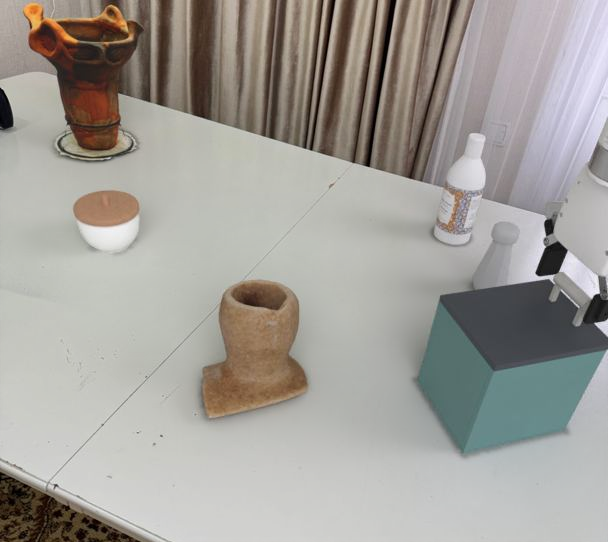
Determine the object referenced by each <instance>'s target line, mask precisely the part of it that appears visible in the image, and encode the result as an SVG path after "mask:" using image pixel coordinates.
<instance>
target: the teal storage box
mask: <svg viewBox="0 0 608 542" xmlns="http://www.w3.org/2000/svg"><path fill="white" fill-rule="evenodd" d="M426 344H427V345H426V347H425V350H424V354H423V359H422V362H421V366H420V370H419V373H418V377H417V383H418V385H419V386H420V388H421V390H422V391H423V393H424V394H425V396H426V397H427V399H428V401H429V402H430V404H431V405H432V407H433V408H434V410H435V411H436V413H437V415H438V416H439V418H440V420H441V421H442V423H443V424H444V426H445V427H446V429H447V430H448V432H449V433H450V435H451V437H452V439H453V440H454V442H455V443H456V445H457V447H458V448H459V450H460V451H461V453H462V454H467V453H472V452H476V451H481V450H485V449H489V448H494V447H498V446H502V445H507V444H511V443H515V442H520V441H525V440H529V439H534V438H537V437H541V436H546V435H550V434H555V433H559V432H560V433H561V432H564V431H565V430H566V428H567V426H568V424H570V423H569V422H570V421H571V419H572V417H573V415H574V413H575V411H576V410H577V407H578V406H579V404H580V402H581V401H582V398H583V396H584V394H585V393H586V391H587V388H588V387H589V385H590V383H591V381H592V379H593V378H594V375H595V373H596V371H597V369H599V366H600V364H601V362H602V360H603V359H604V357H605V355H606V353H607V351H608V350H604V351H598V352H593V353H588V354H583V355H578V356H572V357H567V358H562V359H557V360H551V361H546V362H541V363H536V364H531V365H525V366H520V367H515V368H510V369H504V370H499V371H493V369H492V368H491V367H490V365H489V364H488V363H487V361H486V360H485V359H484V358H483V356H482V355H481V354H480V352H479V351H478V350H477V348H476V347H475V346H474V345H473V343H472V342H471V341H470V339H469V338H468V337H467V335H466V334H465V333H464V332H463V330H462V329H461V328H460V326H459V325H458V324H457V322H456V321H455V320H454V318H453V317H452V316H451V315H450V313H449V312H448V311H447V309H446V308H445V307H444V305H443V304H442V303H441V302H440V300H439V299H438V301H437V305H436V309H435V313H434V316H433V321H432V323H431V328H430V332H429V335H428V340H427V343H426Z"/></svg>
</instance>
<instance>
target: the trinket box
mask: <svg viewBox="0 0 608 542" xmlns="http://www.w3.org/2000/svg"><path fill="white" fill-rule="evenodd" d="M72 211H73V215H74V218H75V221H76V225H77V228H78V231H79V233H80V235H81V237H82V238H83V239H84V241H85V242H86V243H87V244H88V245H89V246H91V247H92V248H94V249H95V250H98V251H99V252H102V253H108V254H111V253H118V252H119V253H120V252H122V251H124V250H126V249H127V248H128V247H129V246H131V244H133V243H134V241H135V240H136V238H137V237H138V234H139V230H140V223H141V221H140V220H141V218H140V217H141V216H140V202H139V200H138V199H137V198H136V197H135V196H133V195H132V194H131V193H128V192H125V191H121V190H111V189H110V190H108V189H107V190H106V189H105V190H98V191H93V192H90V193H87V194H84V195H82V196H81V197H79V198H78V199H77V200H76V201H75V202H74V204H73V206H72Z"/></svg>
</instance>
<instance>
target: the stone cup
mask: <svg viewBox="0 0 608 542" xmlns="http://www.w3.org/2000/svg"><path fill="white" fill-rule="evenodd" d="M299 301H300V300H299V299H298V296H297V295H296V294H295V292H294V290H292V289H290V288H289V287H288V286H286V285H284V284H282V283H280V282H276V281H271V280H267V279H249V280H243V281H240V282H237V283H234V284H233V285H232V284H231V285H230V286H229V287H227V288H226V289H225V291H224V292H223V294H222V296H221V300H220V302H219V303H220V304H219V309H218V324H219V328H220V334H221V337H222V340H223V345H224V349H225V352H226V354H225V355H226V359H225V360H224V361H220V362H218V363H215V364H211V365H210V364H209V365H207V366H206V365H205V366H204V367H202V369H201V372H202V376H203V380H202V384H201V391H202V400H203V406H204V412H205V413H206V418H207V419H216V418H221V417H227V416H230V415H236V414H240V413H244V412H248V411H253V410H255V409H260V408H264V407H267V406H271V405H274V404H278V403H282V402H284V401H287V400H290V399H291V400H292V399H294V398H297V397H299V396H301V395H302V394H304V393H306V391H307V390H308V386H309V383H308V378H307V374H306V373H305V370H304V368H303V367H302V366H301V364H300V363H299V362H298V361H297V360H296V359H294V358H293V356H291V355H289V354H290V351H291V350H292V347H293V345H294V343H295V341H296V338H297V335H298V332H299V324H300V302H299Z"/></svg>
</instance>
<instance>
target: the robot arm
mask: <svg viewBox="0 0 608 542" xmlns="http://www.w3.org/2000/svg"><path fill="white" fill-rule="evenodd" d="M600 131H601V132H600V134H599V137H598V139H597V141H596V144H595V146H594V149H593V151H592V154H591V156H590V159H589V161H587V162H586V163H584V165H583V167H582V168H581V170H580V171H579V173H578V175H577V176H576V178H575V179H574V181H573V183H572V185H571V187H570V188H569V191H568V193H567V194H566V197H565V198H564V200H554V201H547V202H546V204H545V220H544V221H543V222H544V223H543V229H544V233H545V237H543V240H542V243H543V246H544V248H543V252H542V254H541V257H540V259H539V261H538V264H537V267H536V269H535V273H534V274H535V275H536V276H537V277H547V276H555V275H556V274H557V273H559V272H561V268H562V266H563V263H564V261H565V258H566V256H567V254H568V252H569V253H570V254H571V255H572V256H573V257H575V258H576V259H577V260H578V261H579V262H580V263H582V264H583V265H584V266H585V267H586V268H587V269H588V270H589V271H591V272H592V273H593V274H595V275H596V276H597V281H598V288H599V293H595V294H594V295H593V296H592V297H591V299H592V300H591V302H590V304H589V306H588V308H587V311H586V313H585V315H584V317H583V322H584V323H585V324H592V323H594V324H597V323H603V322H606V321H607V320H608V116H606V119H605V122H604V124H603V127H602V129H601V130H600Z"/></svg>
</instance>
